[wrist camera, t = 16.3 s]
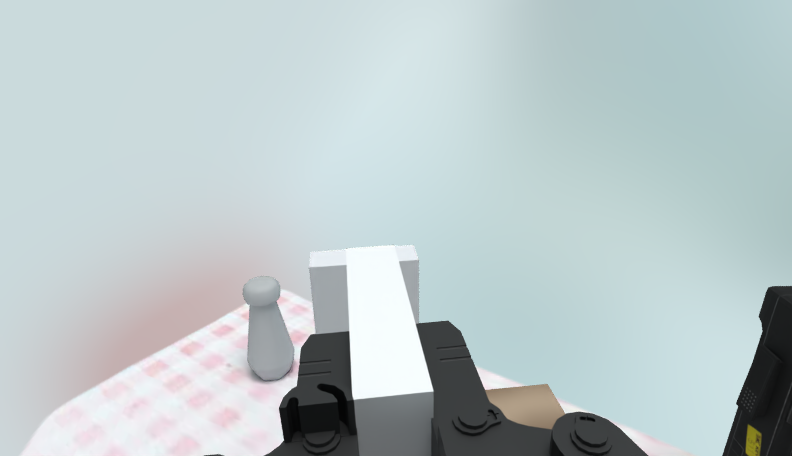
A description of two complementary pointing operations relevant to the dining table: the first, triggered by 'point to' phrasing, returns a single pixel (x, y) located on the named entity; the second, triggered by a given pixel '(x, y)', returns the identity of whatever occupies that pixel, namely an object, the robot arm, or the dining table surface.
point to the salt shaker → (267, 330)
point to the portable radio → (767, 385)
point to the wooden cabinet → (527, 405)
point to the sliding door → (333, 288)
